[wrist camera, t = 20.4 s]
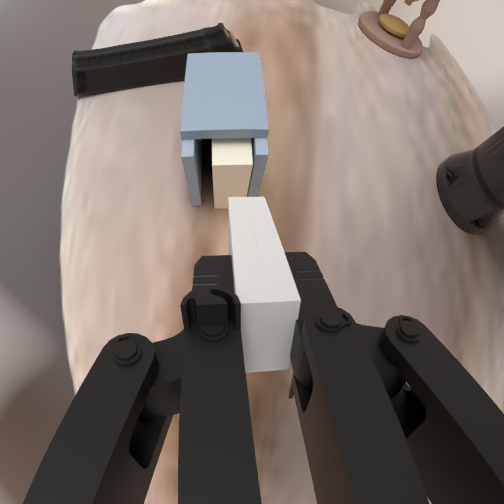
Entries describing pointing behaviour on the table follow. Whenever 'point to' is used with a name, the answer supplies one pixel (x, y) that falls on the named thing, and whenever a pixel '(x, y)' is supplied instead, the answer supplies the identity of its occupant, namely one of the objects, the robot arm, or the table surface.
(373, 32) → the hourglass
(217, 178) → the tile
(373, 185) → the table surface
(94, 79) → the magazine
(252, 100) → the housing
